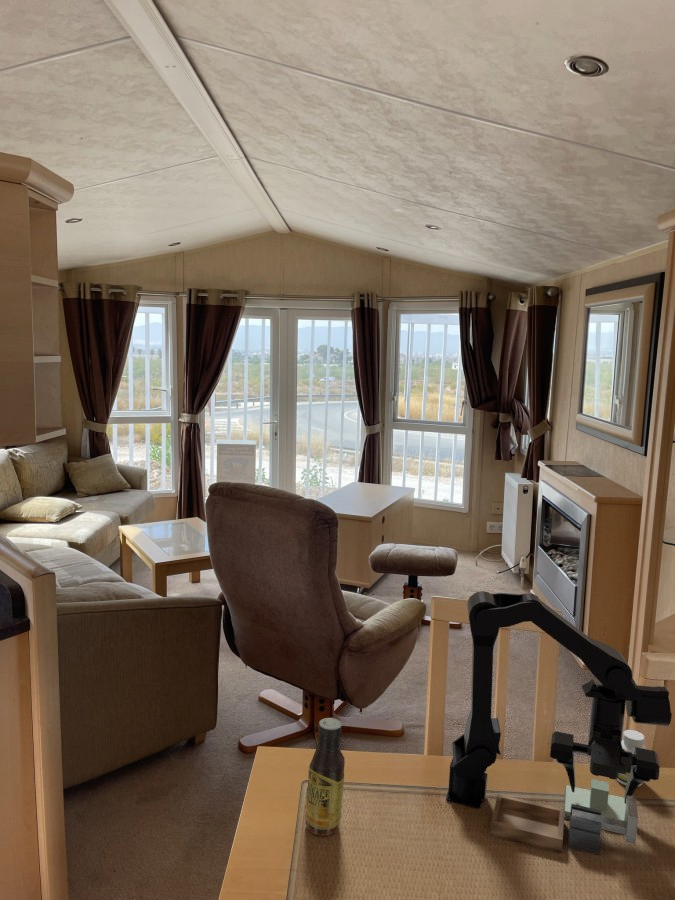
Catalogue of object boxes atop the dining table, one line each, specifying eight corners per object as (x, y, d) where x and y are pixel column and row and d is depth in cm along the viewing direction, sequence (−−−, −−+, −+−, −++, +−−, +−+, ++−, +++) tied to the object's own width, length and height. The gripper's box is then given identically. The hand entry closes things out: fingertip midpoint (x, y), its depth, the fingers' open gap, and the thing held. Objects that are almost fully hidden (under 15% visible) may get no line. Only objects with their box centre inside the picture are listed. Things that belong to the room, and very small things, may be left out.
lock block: (567, 847, 127) (570, 819, 126) (568, 829, 132) (571, 802, 131) (598, 855, 126) (601, 826, 125) (598, 836, 130) (601, 809, 130)
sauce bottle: (297, 826, 130) (301, 721, 127) (322, 811, 134) (326, 709, 131) (324, 844, 125) (329, 736, 122) (349, 828, 130) (354, 722, 127)
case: (490, 835, 129) (491, 822, 129) (496, 806, 138) (497, 793, 137) (561, 853, 126) (562, 840, 125) (563, 821, 134) (564, 809, 134)
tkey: (571, 828, 126) (573, 803, 125) (572, 808, 132) (574, 783, 131) (635, 844, 123) (638, 817, 122) (633, 822, 128) (636, 797, 128)
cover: (564, 814, 135) (566, 790, 135) (566, 788, 143) (568, 766, 143) (632, 830, 132) (634, 805, 131) (629, 803, 140) (632, 779, 139)
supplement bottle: (645, 790, 145) (651, 744, 143) (616, 785, 146) (621, 739, 145) (640, 774, 150) (645, 729, 149) (612, 770, 151) (617, 726, 150)
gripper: (552, 729, 130) (544, 810, 133) (666, 751, 125) (656, 836, 127) (555, 701, 141) (548, 776, 143) (660, 721, 135) (651, 799, 137)
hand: (599, 796), depth 137 cm, fingers open, 9 cm apart
